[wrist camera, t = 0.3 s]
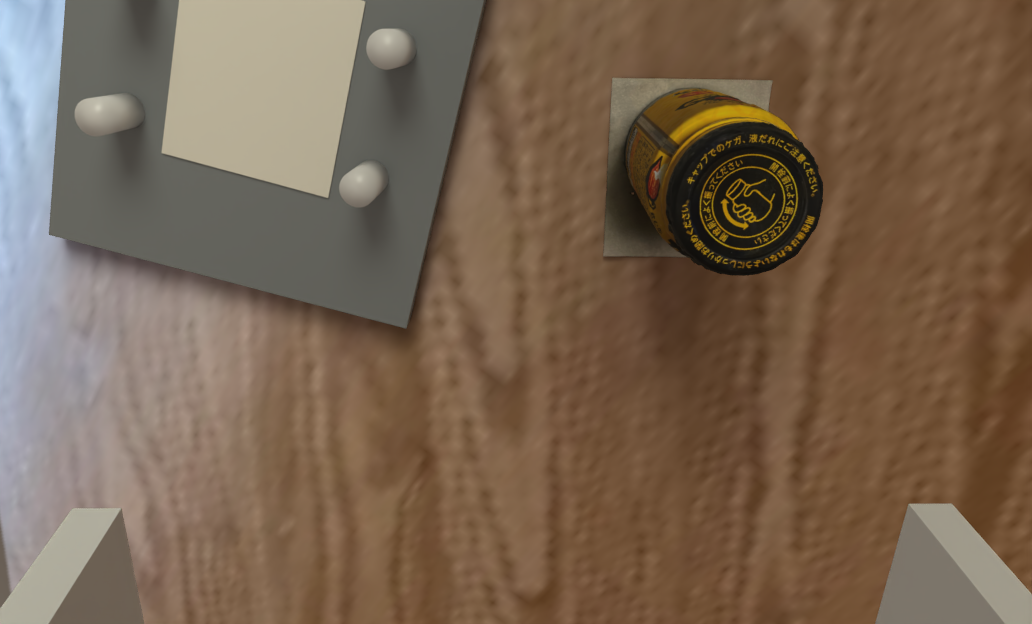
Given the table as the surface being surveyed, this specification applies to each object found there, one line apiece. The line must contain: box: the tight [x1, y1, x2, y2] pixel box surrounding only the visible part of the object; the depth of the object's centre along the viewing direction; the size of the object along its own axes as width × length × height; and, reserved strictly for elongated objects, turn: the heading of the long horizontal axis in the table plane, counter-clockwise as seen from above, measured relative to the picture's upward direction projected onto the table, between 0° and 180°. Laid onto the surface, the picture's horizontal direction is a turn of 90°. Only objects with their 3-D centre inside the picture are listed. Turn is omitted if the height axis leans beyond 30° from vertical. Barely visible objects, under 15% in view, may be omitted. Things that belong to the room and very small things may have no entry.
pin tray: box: [49, 0, 486, 328], centre depth 36 cm, size 20×18×4 cm
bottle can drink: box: [603, 78, 823, 275], centre depth 33 cm, size 7×8×12 cm
